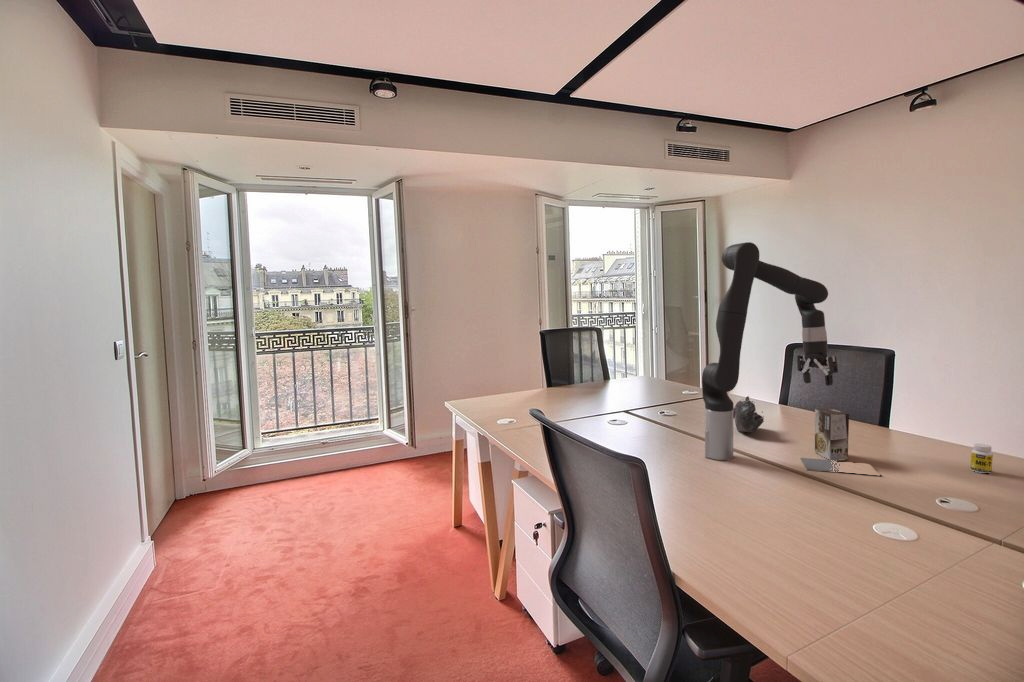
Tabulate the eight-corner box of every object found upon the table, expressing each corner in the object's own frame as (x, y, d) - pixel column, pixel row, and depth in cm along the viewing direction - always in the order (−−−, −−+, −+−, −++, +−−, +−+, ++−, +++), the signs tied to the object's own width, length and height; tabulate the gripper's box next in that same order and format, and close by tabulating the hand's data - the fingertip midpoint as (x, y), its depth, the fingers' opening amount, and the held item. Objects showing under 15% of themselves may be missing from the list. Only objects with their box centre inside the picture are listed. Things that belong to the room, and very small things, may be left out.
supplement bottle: (973, 473, 151) (974, 446, 150) (968, 468, 155) (969, 442, 154) (994, 475, 149) (995, 448, 148) (988, 470, 153) (989, 443, 152)
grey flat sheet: (806, 470, 158) (806, 469, 158) (800, 458, 169) (800, 457, 169) (881, 476, 151) (881, 475, 150) (870, 464, 161) (870, 463, 161)
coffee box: (848, 460, 165) (850, 413, 164) (829, 461, 165) (830, 414, 164) (831, 451, 174) (833, 407, 173) (813, 452, 175) (814, 408, 173)
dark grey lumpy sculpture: (726, 423, 213) (728, 439, 194) (729, 391, 210) (732, 403, 192) (761, 428, 208) (767, 445, 189) (765, 395, 205) (772, 408, 187)
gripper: (789, 340, 181) (793, 383, 182) (824, 340, 168) (828, 387, 168) (805, 338, 184) (808, 381, 184) (841, 338, 170) (844, 384, 171)
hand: (818, 384), depth 176 cm, fingers open, 8 cm apart
